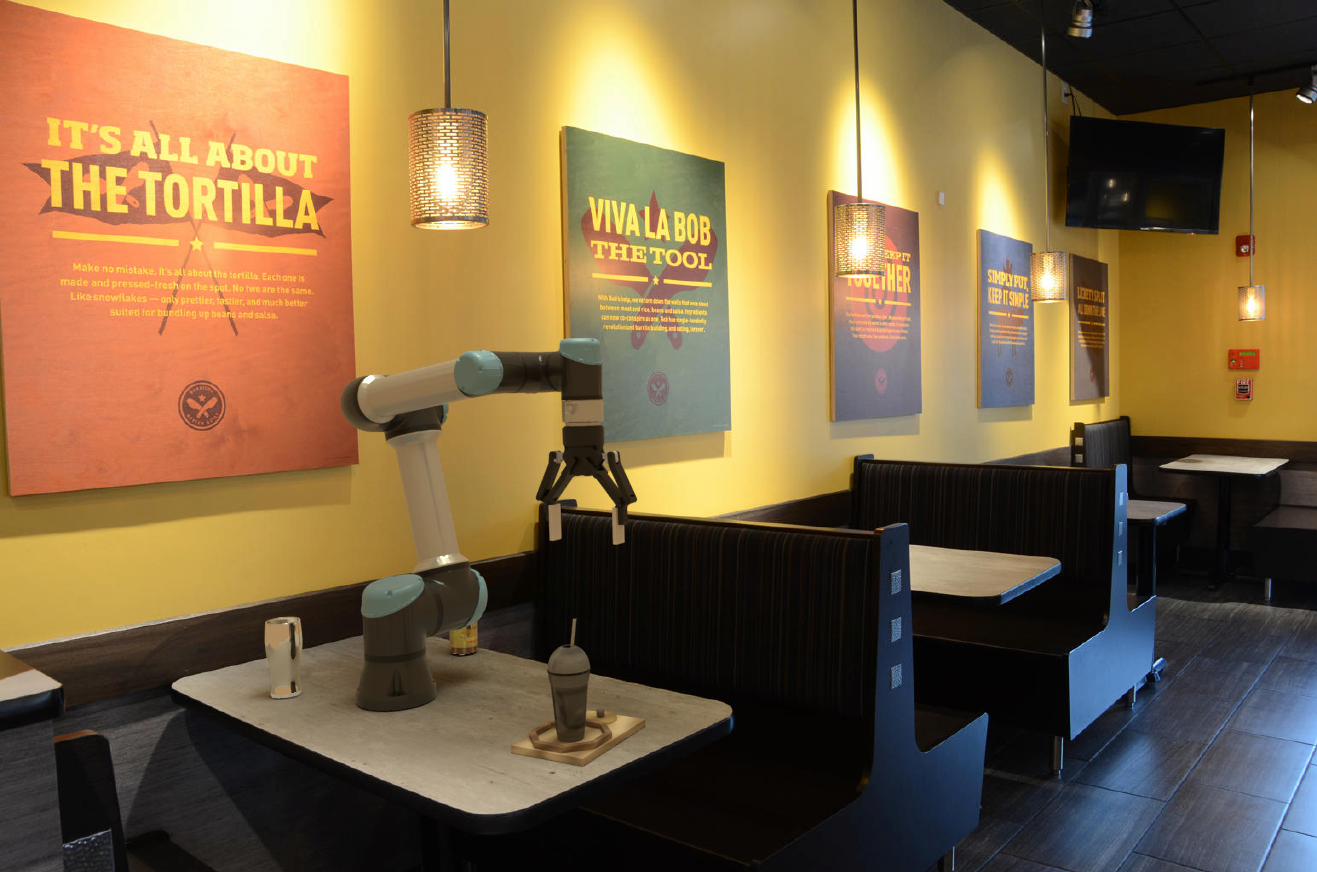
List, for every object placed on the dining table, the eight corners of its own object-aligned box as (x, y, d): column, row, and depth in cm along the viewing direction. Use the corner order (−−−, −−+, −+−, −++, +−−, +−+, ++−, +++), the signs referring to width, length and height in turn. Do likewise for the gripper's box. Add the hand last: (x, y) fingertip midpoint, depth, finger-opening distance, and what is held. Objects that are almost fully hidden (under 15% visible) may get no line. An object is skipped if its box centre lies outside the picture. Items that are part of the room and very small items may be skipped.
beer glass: (259, 698, 192) (256, 623, 191) (285, 687, 198) (282, 615, 197) (287, 701, 189) (283, 625, 188) (312, 691, 196) (308, 617, 195)
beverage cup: (549, 731, 165) (546, 614, 164) (592, 728, 165) (589, 613, 164) (548, 746, 157) (544, 625, 156) (593, 744, 158) (589, 623, 157)
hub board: (511, 752, 159) (510, 734, 159) (578, 715, 176) (578, 698, 176) (583, 766, 152) (582, 747, 152) (645, 725, 169) (644, 709, 169)
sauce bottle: (471, 656, 218) (468, 569, 217) (445, 656, 219) (442, 569, 218) (482, 649, 224) (479, 564, 223) (457, 648, 225) (454, 564, 224)
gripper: (514, 425, 177) (518, 541, 178) (632, 424, 165) (636, 548, 166) (538, 424, 183) (542, 535, 184) (653, 422, 171) (657, 541, 172)
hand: (586, 541), depth 175 cm, fingers open, 13 cm apart
